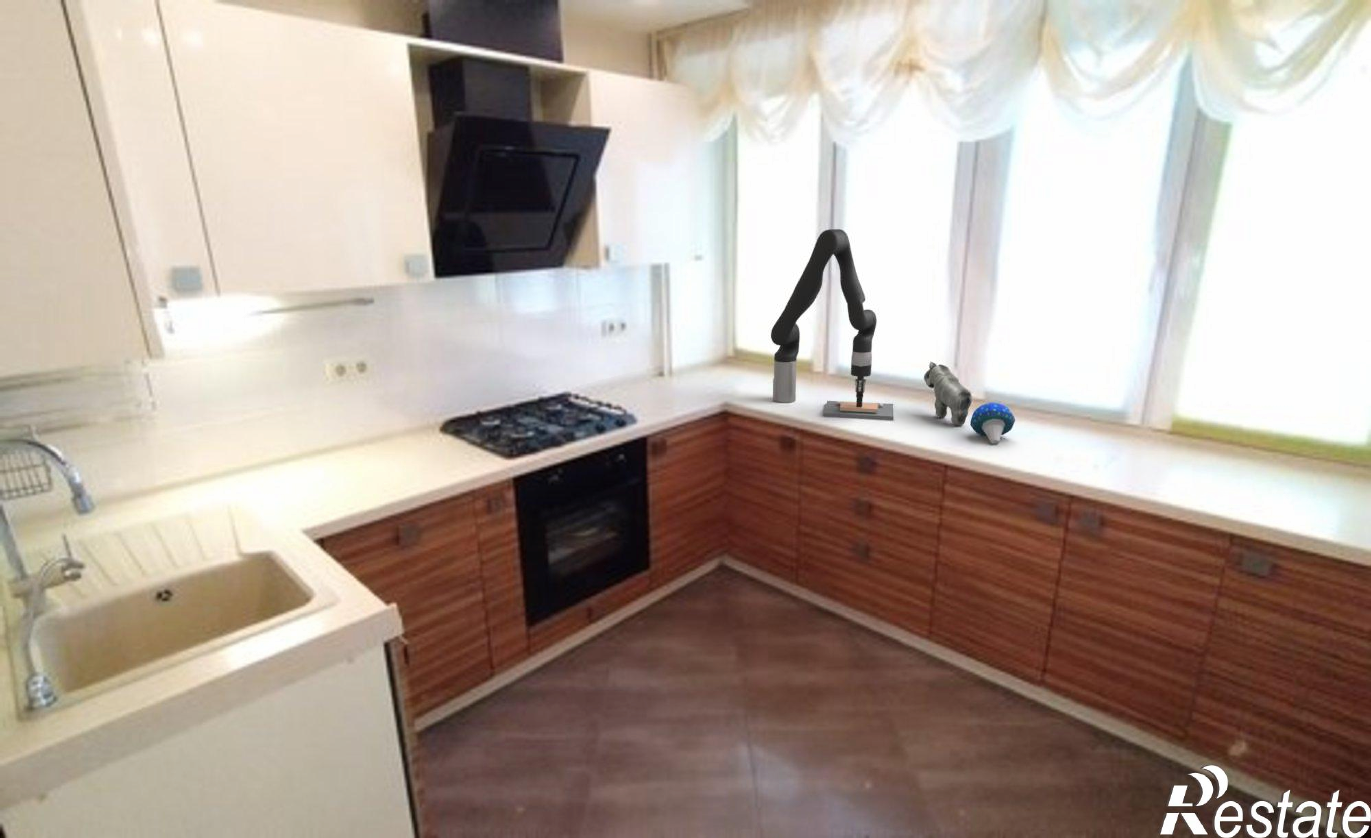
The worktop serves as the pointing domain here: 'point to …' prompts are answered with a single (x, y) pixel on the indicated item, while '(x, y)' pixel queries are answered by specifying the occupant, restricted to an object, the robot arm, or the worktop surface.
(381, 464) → the worktop surface
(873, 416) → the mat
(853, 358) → the robot arm
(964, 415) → the grey animal figure
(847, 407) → the tile
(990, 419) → the mushroom
